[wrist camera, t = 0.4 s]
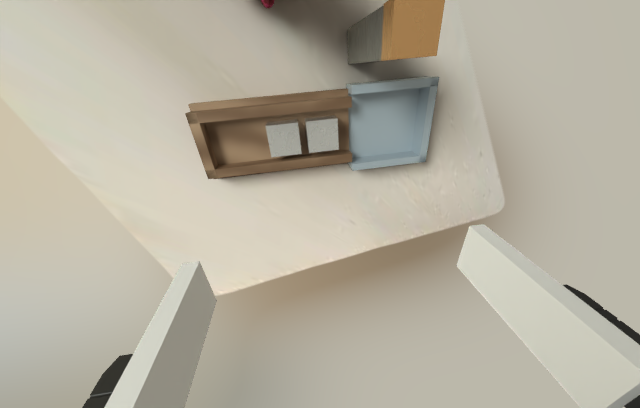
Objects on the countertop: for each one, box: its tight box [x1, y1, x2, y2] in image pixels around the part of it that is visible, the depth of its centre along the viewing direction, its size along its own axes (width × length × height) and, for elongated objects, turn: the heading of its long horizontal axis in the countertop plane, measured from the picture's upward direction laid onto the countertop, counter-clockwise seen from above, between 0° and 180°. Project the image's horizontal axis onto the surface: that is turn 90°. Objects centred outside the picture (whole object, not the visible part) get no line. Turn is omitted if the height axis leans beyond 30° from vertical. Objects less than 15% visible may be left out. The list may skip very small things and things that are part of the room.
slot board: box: [186, 88, 352, 179], centre depth 31 cm, size 10×20×3 cm, turn 95°
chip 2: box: [305, 115, 339, 153], centre depth 31 cm, size 4×4×2 cm
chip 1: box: [266, 119, 302, 157], centre depth 31 cm, size 4×4×2 cm
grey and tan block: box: [347, 0, 445, 64], centre depth 22 cm, size 4×4×14 cm
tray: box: [346, 77, 439, 171], centre depth 32 cm, size 11×11×3 cm
